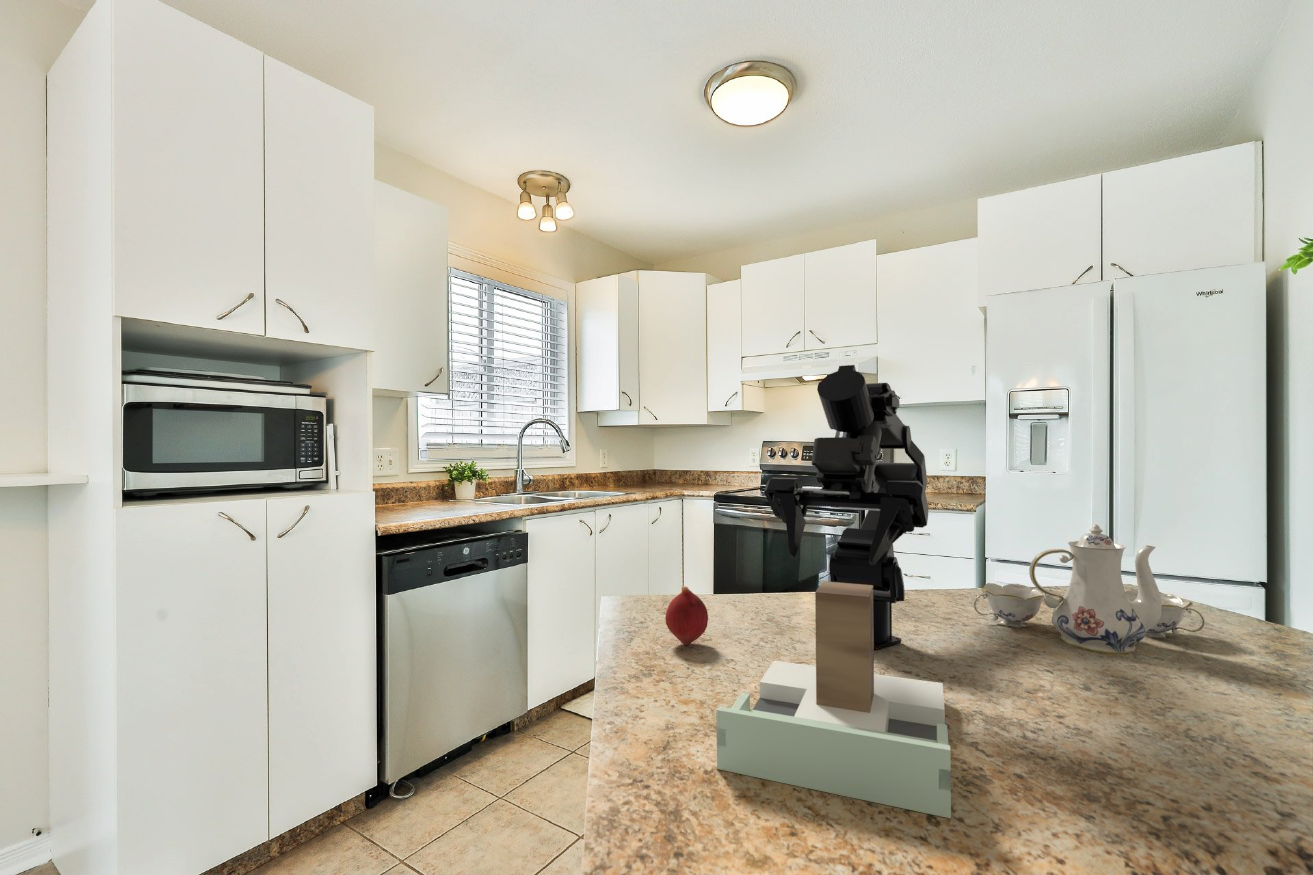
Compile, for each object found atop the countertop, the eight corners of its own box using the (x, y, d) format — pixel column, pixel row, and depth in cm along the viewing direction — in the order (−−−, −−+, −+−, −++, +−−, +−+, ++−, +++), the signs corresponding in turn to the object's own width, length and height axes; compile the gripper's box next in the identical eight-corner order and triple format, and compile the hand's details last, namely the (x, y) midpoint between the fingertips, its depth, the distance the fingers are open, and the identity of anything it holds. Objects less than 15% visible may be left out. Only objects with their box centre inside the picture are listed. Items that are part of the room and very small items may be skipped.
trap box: (774, 677, 73) (773, 634, 73) (942, 701, 66) (942, 654, 66) (716, 768, 53) (716, 709, 53) (951, 818, 46) (950, 750, 46)
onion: (708, 638, 88) (708, 581, 88) (707, 652, 82) (707, 591, 82) (667, 637, 88) (667, 581, 88) (664, 651, 82) (663, 590, 83)
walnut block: (823, 685, 65) (822, 581, 65) (874, 693, 63) (873, 585, 63) (816, 704, 61) (815, 591, 61) (870, 712, 59) (869, 596, 59)
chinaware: (1170, 636, 92) (1162, 523, 94) (1251, 664, 76) (1240, 527, 78) (966, 626, 98) (962, 520, 100) (1001, 650, 82) (995, 522, 84)
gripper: (767, 415, 80) (733, 512, 71) (922, 410, 71) (906, 522, 61) (790, 470, 87) (761, 565, 78) (934, 473, 77) (920, 582, 68)
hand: (830, 559), depth 71 cm, fingers open, 9 cm apart
